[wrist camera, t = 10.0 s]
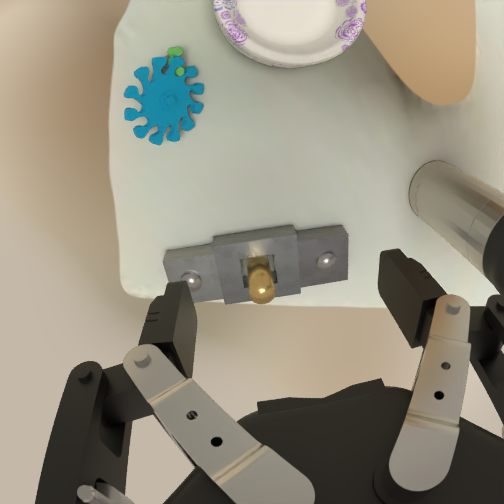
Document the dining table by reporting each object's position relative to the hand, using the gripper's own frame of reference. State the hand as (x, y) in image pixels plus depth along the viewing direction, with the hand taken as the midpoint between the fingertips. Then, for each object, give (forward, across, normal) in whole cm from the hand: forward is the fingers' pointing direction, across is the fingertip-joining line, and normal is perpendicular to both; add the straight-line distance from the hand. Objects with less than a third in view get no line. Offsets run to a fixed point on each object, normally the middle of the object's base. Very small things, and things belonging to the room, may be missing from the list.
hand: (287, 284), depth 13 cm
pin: (+28, +1, +15) cm, 32 cm away
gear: (+28, +8, -8) cm, 31 cm away
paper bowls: (+28, -6, -17) cm, 34 cm away
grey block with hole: (+28, +1, +15) cm, 32 cm away
